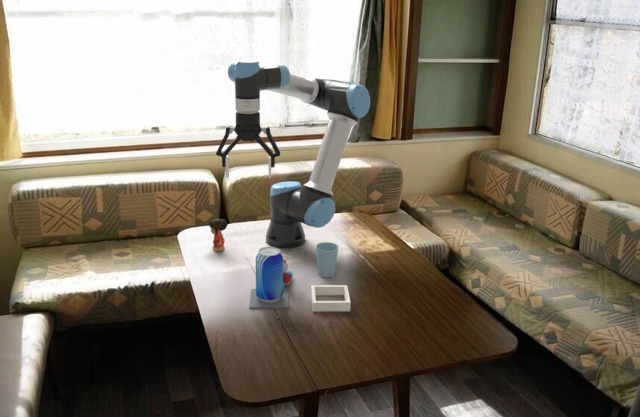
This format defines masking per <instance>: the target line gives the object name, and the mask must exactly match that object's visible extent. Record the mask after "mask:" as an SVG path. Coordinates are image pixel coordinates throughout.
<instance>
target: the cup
mask: <svg viewBox="0 0 640 417" xmlns="http://www.w3.org/2000/svg"><path fill="white" fill-rule="evenodd" d="M315 251H316V252H315V253H316V264H317V274H318V276H319V277H321V278H324V279H325V278H327V279H328V278H333V277H334V275H335V272H336V265H337V259H338V253H339V245H338V244H336V243H335V242H330V241H329V242H328V241H327V242H326V241H325V242H324V241H323V242H320V243H317V244H316V245H315Z"/></svg>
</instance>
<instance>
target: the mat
mask: <svg viewBox="0 0 640 417" xmlns="http://www.w3.org/2000/svg"><path fill="white" fill-rule="evenodd" d="M289 290H290V289H289V288H284V289H283V295H282V297H281V298H280V300H279V301H277V302H273V303H265V302H262V301H260V300H259V298H258V297H257V296H256V288H251V290H250V298H249V310H253V309H254V310H267V309H268V310H273V309H274V310H279V309H280V310H288V309H290V301H289V300H290V299H289V294H290V292H289Z"/></svg>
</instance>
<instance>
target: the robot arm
mask: <svg viewBox="0 0 640 417" xmlns="http://www.w3.org/2000/svg"><path fill="white" fill-rule="evenodd" d="M227 75H228V78H229V80H230V81H231V82H233V83H234V94H235V96H234V98H235V99H234V100H235V111H236V112H235V127H234V126H231V125H227V126H226V127H225V132H224V136H223V138H222V140H221V142H220V144H219V146H218V148H217V150H216V152H215V155H216V156H219V157H220V158H221V166H222V168H225V178H226V179H229V176H230V166H229V165H230V164H229V163H230V162H229V153H230V152H231V151H232V150H233V149H234V148H235V146H236V145H237V144H238V143H239V142H240V140H241V141H243V142H254V141H256V143H257V144H259V146H260V147H262V149H263V150H264V151H265V153H266V154H268V179H271V178H272V168H275V166H276V161H275V160H276V158H277V157H280V156H281V151H280V149H279V147H278V145H277V142H276V141H275V140H274V137H273V135H272V133H271V127H270V126H269V125H267V126H265V127H263V126H262V127H261V113H260V110H261V99H260V98H261V97H260V96H261V95H260V94H261V91H269V92H273V93H275V94H280V95H284V96H287V97H292V98H296V99H300V100H301V101H302V103H304V104H308V105H311V106H314V107H316V108H319V109H321V110H324V111H325V112H326V111H327V113H326V115H327V117H328V119H329V120H328V123H327V125H326V130H325V132H324V135H323V138H322V141H321V143H320V147H319V150H318V153H317V156H316V158H315V159H316V160H315V161H314V165H313V168H312V170H311V174H310V176H309V180H308V181H307V182H306V183H303V185H302V183H301V182H299V181H294V180H293V181H290V180H289V181H282V182H277V183H274V184H273V185H271V187H270V194H269V206H270V207H269V209H270V215H269V216H270V221H269V225H268V228H267V230H266V234H265V242H266V243H267V244H268V245H269V246H271V247H275V248H283V249H284V248H286V249H287V248H289V249H291V248H296V247H299V246H301V245H303V244H304V243H305V242H306V235H305V231H304V228H303V225H302V224H305V225H306V226H309V227H313V228H323V227H325V226H326V225H328V224H329V223H330V222H331V221H332V219H333V217H334V215H335V213H336V203H335V201H334V200H333V198H334V192H333V191H332V187H333V185H334V183H335V182H334V181H335V178H336V175H337V173H338V169H339V167H340V163H341V160H342V157H343V154H344V153H345V148H346V145H347V142H348V139H349V136H350V133H351V131H352V127H354V126H355V125H358V123H359V120H360V118H363V117H365V116H366V115H367V114H368V113H369V111H370V107H371V96H370V93H369V92H370V91H368V89H367V87H366V86H365V85H363V84H361V83H360V84H359V83H356V82H348V81H341V80H336V79H324V78H315V77H312V76H307V77H301V76H298V75H295V74H291V73H290V70H289V68H288V67H287V65H284V64H282V63H279V64H278V63H275V64H269V63H268V64H267V63H261V62H260V61H258V60H256V59H255V60H254V59H237V60H233V61H231V62H230V63H229V65H228V68H227ZM233 132H235V134H236V137H235V138H234V139H233V140H232V141H231V142H230V144H229V145H228V146H227V148H225V150H224V151H222V150H223V149H224V147H225V144H226V143H227V140H228V139H229V137H230V135H231V134H232V133H233ZM262 132H263V134H264V135H266V137H267V140H268V141H269V143H270V144H271V147H272V149H273V150H272V149H271V148H270V147H269V146H268V144H267V143H265V141H264V140H263V139H262V137H261V136H260V134H261V133H262Z"/></svg>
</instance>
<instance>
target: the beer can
mask: <svg viewBox="0 0 640 417" xmlns="http://www.w3.org/2000/svg"><path fill="white" fill-rule="evenodd" d="M283 259H284V257H283V255H282V254H281V250H280V249H279V247H275V246H265V247H262V248H259V250H258V253H257V254H256V256H255V289H256V296H257V297H258V298H259V300H260V301H262V302H265V303H273V302H277V301H279V300H280V298H281V297H282V295H283Z"/></svg>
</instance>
